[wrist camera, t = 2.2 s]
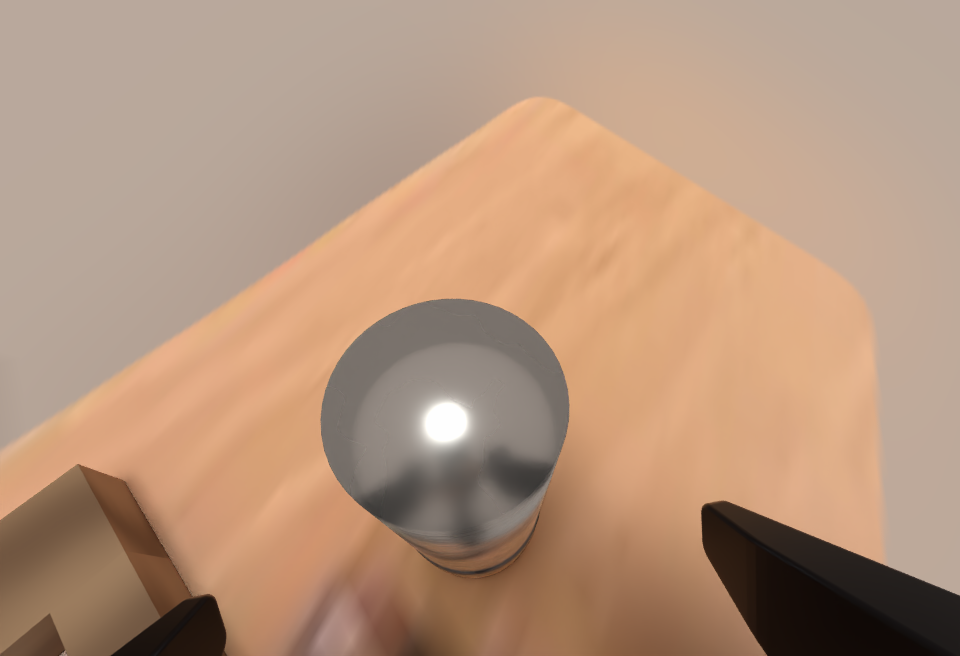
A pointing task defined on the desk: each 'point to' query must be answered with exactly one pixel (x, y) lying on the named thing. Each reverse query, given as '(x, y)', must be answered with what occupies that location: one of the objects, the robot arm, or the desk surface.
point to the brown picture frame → (81, 570)
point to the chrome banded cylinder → (449, 430)
